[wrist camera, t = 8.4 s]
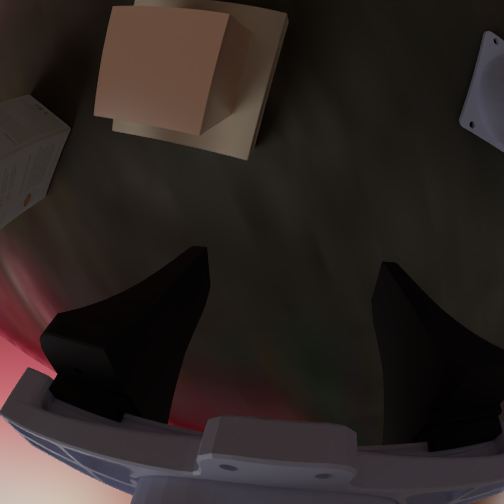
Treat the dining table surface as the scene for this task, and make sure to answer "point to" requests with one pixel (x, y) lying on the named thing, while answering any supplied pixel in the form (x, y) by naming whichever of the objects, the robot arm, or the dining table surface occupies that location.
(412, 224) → the dining table surface
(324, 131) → the dining table surface
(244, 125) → the maple base block
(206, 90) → the terracotta block
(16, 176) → the small box
